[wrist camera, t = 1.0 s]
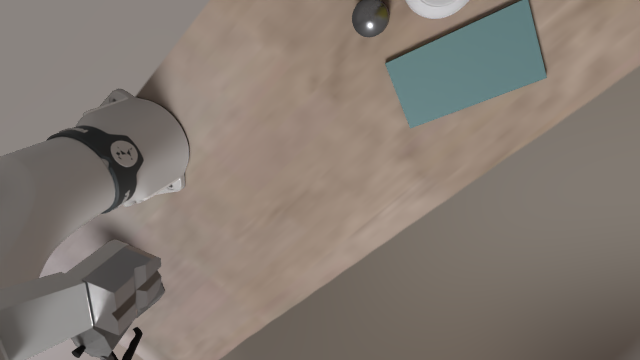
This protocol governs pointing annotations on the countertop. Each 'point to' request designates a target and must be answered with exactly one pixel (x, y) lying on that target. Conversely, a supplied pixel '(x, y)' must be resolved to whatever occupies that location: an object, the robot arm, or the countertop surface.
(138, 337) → the coffeepot
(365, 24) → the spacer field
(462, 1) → the supplement bottle
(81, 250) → the countertop surface
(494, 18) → the mat
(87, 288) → the robot arm
